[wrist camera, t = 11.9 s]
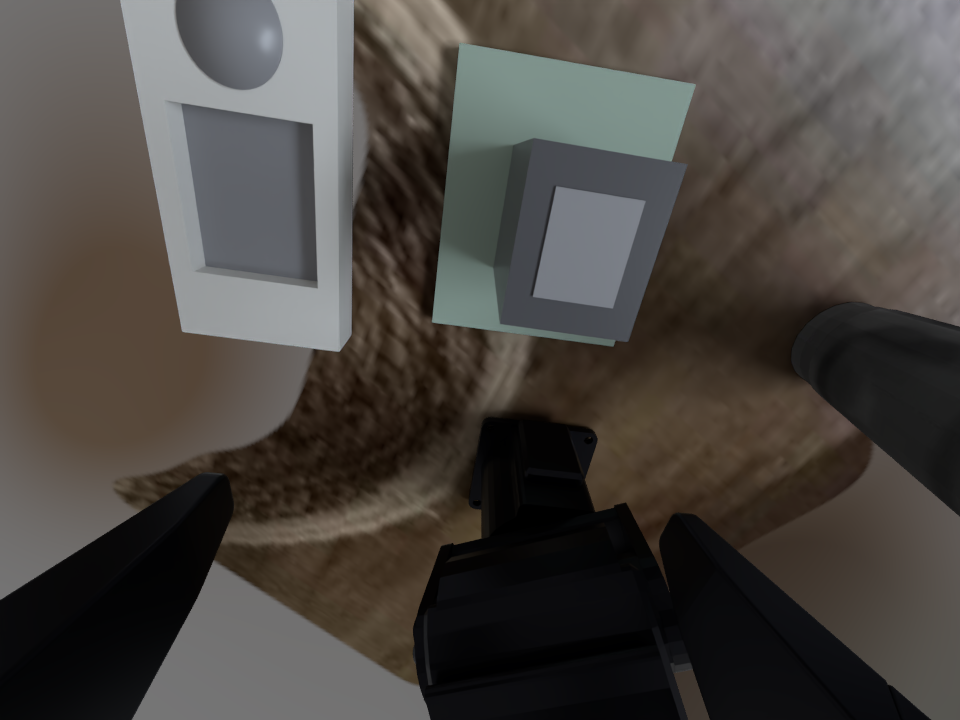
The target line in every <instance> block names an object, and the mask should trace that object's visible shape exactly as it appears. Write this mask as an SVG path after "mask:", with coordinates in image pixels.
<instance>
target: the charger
mask: <svg viewBox="0 0 960 720" xmlns="http://www.w3.org/2000/svg"><path fill="white" fill-rule="evenodd" d="M687 165H688V164H683V163H677V162H671V161H665V160H660V159H654V158H648V157H642V156H636V155H630V154H625V153H619V152H613V151H607V150H601V149H595V148H590V147H584V146H578V145H572V144H566V143H560V142H554V141H549V140H543V139H537V138H532V139H529V140H526V141H523V142H521V143H518V144H515V145H513V151H512V157H511V163H510V169H509V175H508V182H507V188H506V194H505V200H504V206H503V212H502V218H501V224H500V230H499V236H498V242H497V248H496V254H495V260H494V267H493V270H494V278H495V287H496V296H497V304H498V313H499V322H500V324H503V325H510V326H517V327H524V328H532V329H539V330H546V331H553V332H560V333H567V334H574V335H581V336H588V337H595V338H603V339H610V340H617V341H624V342H628V341H629V338H630V335H631V332H632V329H633V326H634V323H635V320H636V317H637V314H638V311H639V308H640V305H641V302H642V299H643V296H644V293H645V290H646V287H647V284H648V281H649V278H650V275H651V272H652V269H653V266H654V263H655V260H656V257H657V254H658V251H659V248H660V245H661V242H662V239H663V236H664V233H665V230H666V227H667V224H668V221H669V218H670V215H671V212H672V209H673V206H674V203H675V200H676V198H677V195H678V192H679V189H680V186H681V183H682V180H683V177H684V174H685V171H686V168H687Z"/></svg>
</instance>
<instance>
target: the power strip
mask: <svg viewBox="0 0 960 720" xmlns="http://www.w3.org/2000/svg"><path fill="white" fill-rule="evenodd" d="M120 2H121V9H122V14H123V19H124V24H125V30H126V35H127V40H128V46H129V51H130V56H131V62H132V67H133V72H134V77H135V83H136V88H137V93H138V98H139V104H140V109H141V115H142V119H143V126H144V131H145V136H146V141H147V147H148V152H149V158H150V163H151V168H152V173H153V179H154V184H155V189H156V195H157V200H158V205H159V211H160V216H161V221H162V226H163V232H164V237H165V243H166V248H167V253H168V259H169V264H170V269H171V275H172V280H173V285H174V291H175V296H176V301H177V306H178V312H179V317H180V323H181V328H182V332H187V333H196V334H204V335H211V336H219V337H227V338H234V339H243V340H250V341H258V342H266V343H274V344H281V345H290V346H297V347H306V348H313V349H321V350H329V351H336V352H340V350H341V349H342V348H343V346H344V345H345V343H346V342H347V341H348V339H349V338H350V337H351V335H352V195H353V189H352V188H353V182H352V181H353V49H354V0H120Z"/></svg>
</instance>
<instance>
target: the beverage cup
mask: <svg viewBox="0 0 960 720" xmlns="http://www.w3.org/2000/svg"><path fill="white" fill-rule="evenodd" d="M791 362H792V365H793V367H794V370H795V371H796V372H797V373H798V374H799V375H800V376H801V377H802V378H803V379H804V380H806V381H807V382H808V383H809V384H810V385H811V386H812V388H813V389H814V390H815V391H816V392H817V393H818V394H819V395H820V396H821V397H822V398H824V399H825V400H826V401H827V402H828V403H829V404H830V405H832V406H833V407H834V408H835V409H836V410H837V411H839V412H840V413H841V414H842V415H843V416H844V417H845V418H847V419H848V420H849V421H850V422H851V423H852V424H854V425H855V426H856V427H857V428H858V429H859V430H860V431H862V432H863V433H864V434H865V435H866V436H867V437H869V438H870V439H871V440H872V441H873V442H874V443H875V444H877V445H878V446H879V447H880V448H881V449H883V450H884V451H885V452H886V453H887V454H888V455H889V456H890V457H892V458H893V459H894V460H895V461H896V462H897V463H899V464H900V465H901V466H902V467H903V468H904V469H906V470H907V471H908V472H909V473H910V474H911V475H912V476H914V477H915V478H916V479H917V480H918V481H919V482H921V483H922V484H923V485H924V486H925V487H926V488H927V489H929V490H930V491H931V492H932V493H933V494H935V496H937V497H938V498H939V499H940V500H941V501H943V502H944V503H945V504H946V505H947V506H948V507H949V508H950V509H952V510H953V511H954V512H955V513H956V514H957V515H959V516H960V327H959V326H955V325H951V324H947V323H944V322H940V321H936V320H933V319H929V318H925V317H921V316H918V315H914V314H910V313H906V312H903V311H899V310H891V309H885V308H881V307H874V306H871V305H869V304H866V303H856V302H849V303H845V304H840V305H836V306H833V307H831V308H829V309H827V310H825V311H823V312H821V313H819V314H818V315H817V316H816V317H815V318H813V319H812V320H811V321H810V322H808V323H807V324H806V325H805V327H804V328H803V329H802V331H801V332H800V333H799V334H798V336H797V338H796V340H795V343H794V345H793V347H792V355H791Z"/></svg>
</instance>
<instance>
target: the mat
mask: <svg viewBox="0 0 960 720" xmlns="http://www.w3.org/2000/svg"><path fill="white" fill-rule="evenodd" d="M695 85H696V84H691V83H685V82H679V81H674V80H668V79H662V78H657V77H651V76H645V75H640V74H634V73H628V72H623V71H617V70H611V69H606V68H600V67H594V66H589V65H583V64H577V63H572V62H566V61H560V60H555V59H549V58H543V57H538V56H532V55H526V54H521V53H515V52H509V51H504V50H498V49H492V48H487V47H481V46H475V45H470V44H464V43H460V44H459V55H458V65H457V75H456V85H455V95H454V105H453V115H452V126H451V136H450V146H449V156H448V166H447V176H446V187H445V197H444V207H443V217H442V227H441V237H440V247H439V258H438V268H437V278H436V288H435V298H434V308H433V319H432V322H433V323H441V324H448V325H456V326H463V327H471V328H478V329H486V330H493V331H501V332H508V333H516V334H523V335H531V336H538V337H546V338H553V339H561V340H568V341H576V342H583V343H591V344H598V345H605V346H613V347H614V343H615V340H610V339H603V338H595V337H588V336H581V335H574V334H567V333H560V332H553V331H546V330H539V329H532V328H524V327H517V326H510V325H503V324H500V322H499V313H498V304H497V296H496V287H495V278H494V270H493V267H494V260H495V254H496V248H497V242H498V236H499V230H500V224H501V218H502V212H503V206H504V200H505V194H506V188H507V182H508V175H509V169H510V163H511V157H512V151H513V145H515V144H518V143H521V142H523V141H526V140H529V139H532V138H537V139H543V140H549V141H554V142H560V143H566V144H572V145H578V146H584V147H590V148H595V149H601V150H607V151H613V152H619V153H625V154H630V155H636V156H642V157H648V158H654V159H660V160H665V161H671V162H672V158H673V155H674V152H675V149H676V146H677V143H678V139H679V136H680V133H681V130H682V127H683V123H684V120H685V117H686V114H687V111H688V107H689V104H690V101H691V98H692V95H693V91H694V88H695Z"/></svg>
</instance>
